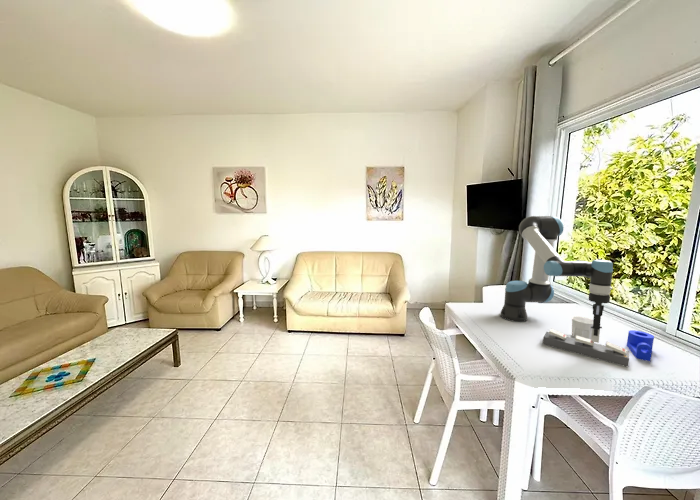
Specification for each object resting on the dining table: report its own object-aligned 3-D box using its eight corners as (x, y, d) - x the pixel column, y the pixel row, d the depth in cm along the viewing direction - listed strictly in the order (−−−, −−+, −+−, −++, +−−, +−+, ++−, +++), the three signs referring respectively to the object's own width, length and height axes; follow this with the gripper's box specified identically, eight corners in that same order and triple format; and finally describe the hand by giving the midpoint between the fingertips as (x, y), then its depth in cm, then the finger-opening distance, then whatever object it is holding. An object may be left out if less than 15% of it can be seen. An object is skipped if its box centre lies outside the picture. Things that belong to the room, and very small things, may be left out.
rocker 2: (574, 340, 143) (575, 337, 143) (575, 337, 147) (576, 335, 146) (593, 345, 139) (593, 343, 138) (593, 342, 142) (594, 340, 142)
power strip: (542, 344, 151) (543, 335, 150) (545, 338, 157) (546, 330, 157) (627, 367, 129) (629, 356, 129) (627, 359, 136) (628, 349, 135)
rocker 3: (605, 346, 136) (606, 344, 135) (605, 343, 139) (606, 341, 139) (625, 354, 131) (626, 352, 131) (624, 351, 135) (626, 349, 134)
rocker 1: (548, 333, 150) (549, 330, 150) (550, 330, 154) (551, 328, 153) (564, 340, 146) (565, 337, 146) (566, 337, 149) (567, 335, 149)
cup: (588, 335, 162) (590, 317, 161) (597, 342, 153) (599, 324, 152) (567, 332, 166) (569, 315, 164) (574, 339, 156) (576, 322, 155)
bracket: (625, 342, 154) (627, 328, 153) (650, 347, 148) (652, 333, 147) (629, 357, 139) (631, 341, 138) (656, 363, 133) (659, 347, 132)
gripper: (609, 297, 130) (604, 348, 133) (610, 291, 139) (605, 339, 142) (588, 294, 135) (583, 343, 138) (590, 289, 144) (586, 335, 147)
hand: (595, 341), depth 140 cm, fingers closed
